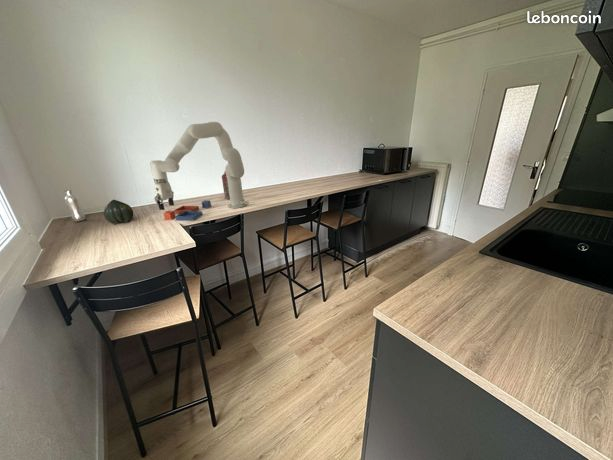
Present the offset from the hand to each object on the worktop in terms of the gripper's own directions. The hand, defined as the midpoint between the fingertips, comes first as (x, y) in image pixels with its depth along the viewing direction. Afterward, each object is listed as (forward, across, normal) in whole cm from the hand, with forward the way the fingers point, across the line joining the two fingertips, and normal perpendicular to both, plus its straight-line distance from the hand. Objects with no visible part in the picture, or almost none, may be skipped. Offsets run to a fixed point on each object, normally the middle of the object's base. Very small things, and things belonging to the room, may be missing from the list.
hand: (167, 207), depth 162 cm
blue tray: (+7, +3, -12) cm, 15 cm away
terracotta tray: (+7, +15, -3) cm, 17 cm away
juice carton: (+7, +51, -20) cm, 56 cm away
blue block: (+7, +26, -12) cm, 30 cm away
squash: (+8, -9, +28) cm, 30 cm away
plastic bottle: (+9, -10, +57) cm, 58 cm away
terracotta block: (+8, 0, 0) cm, 8 cm away
